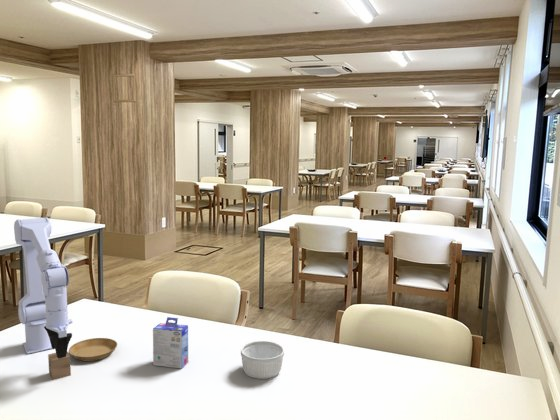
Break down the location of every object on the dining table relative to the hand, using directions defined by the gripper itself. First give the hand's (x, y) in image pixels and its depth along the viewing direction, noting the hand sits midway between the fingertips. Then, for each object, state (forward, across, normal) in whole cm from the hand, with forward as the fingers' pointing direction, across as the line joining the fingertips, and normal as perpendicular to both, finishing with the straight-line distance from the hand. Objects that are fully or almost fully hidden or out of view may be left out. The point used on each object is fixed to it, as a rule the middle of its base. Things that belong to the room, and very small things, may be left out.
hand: (58, 352), depth 139 cm
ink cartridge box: (+7, -12, -30) cm, 33 cm away
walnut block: (+7, 0, 0) cm, 7 cm away
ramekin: (+7, -32, -51) cm, 61 cm away
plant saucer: (+7, +9, -12) cm, 17 cm away
